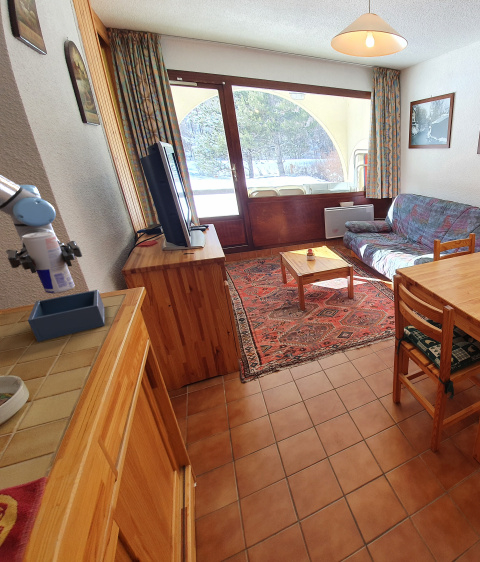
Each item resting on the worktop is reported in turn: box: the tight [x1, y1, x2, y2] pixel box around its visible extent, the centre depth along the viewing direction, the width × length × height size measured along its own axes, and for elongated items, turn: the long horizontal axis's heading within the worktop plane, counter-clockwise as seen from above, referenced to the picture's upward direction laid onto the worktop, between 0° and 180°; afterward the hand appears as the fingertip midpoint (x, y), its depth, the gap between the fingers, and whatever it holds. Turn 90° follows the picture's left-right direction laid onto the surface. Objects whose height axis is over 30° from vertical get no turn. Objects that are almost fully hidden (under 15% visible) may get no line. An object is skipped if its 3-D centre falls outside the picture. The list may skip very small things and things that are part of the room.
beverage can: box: [22, 232, 76, 294], centre depth 78 cm, size 6×6×15 cm
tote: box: [27, 289, 106, 343], centre depth 82 cm, size 13×13×6 cm
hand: (50, 264), depth 74 cm, fingers closed on beverage can, 6 cm apart
